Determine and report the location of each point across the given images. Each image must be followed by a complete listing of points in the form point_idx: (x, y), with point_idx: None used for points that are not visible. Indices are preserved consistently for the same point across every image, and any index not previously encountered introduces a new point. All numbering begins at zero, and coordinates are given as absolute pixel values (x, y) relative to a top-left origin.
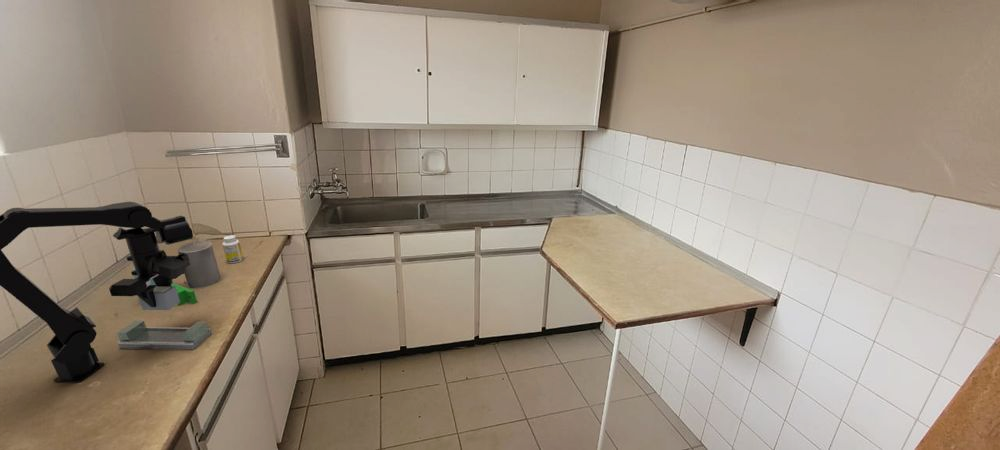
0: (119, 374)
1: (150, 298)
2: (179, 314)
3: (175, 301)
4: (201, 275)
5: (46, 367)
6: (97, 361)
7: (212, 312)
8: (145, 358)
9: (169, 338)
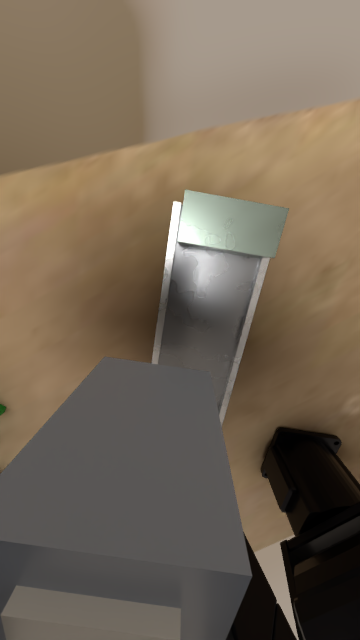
0: (334, 374)
1: (274, 607)
2: (51, 382)
3: (131, 378)
4: None
5: (253, 515)
6: (275, 447)
7: (31, 285)
8: (275, 351)
9: (211, 330)
